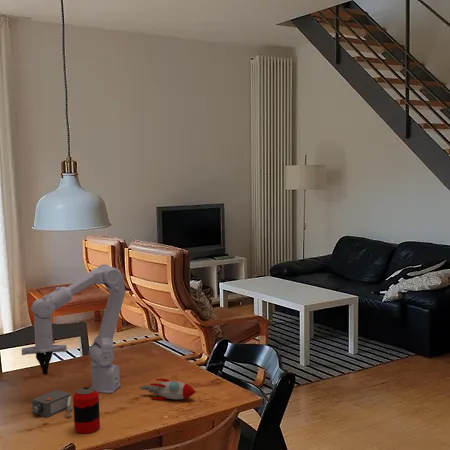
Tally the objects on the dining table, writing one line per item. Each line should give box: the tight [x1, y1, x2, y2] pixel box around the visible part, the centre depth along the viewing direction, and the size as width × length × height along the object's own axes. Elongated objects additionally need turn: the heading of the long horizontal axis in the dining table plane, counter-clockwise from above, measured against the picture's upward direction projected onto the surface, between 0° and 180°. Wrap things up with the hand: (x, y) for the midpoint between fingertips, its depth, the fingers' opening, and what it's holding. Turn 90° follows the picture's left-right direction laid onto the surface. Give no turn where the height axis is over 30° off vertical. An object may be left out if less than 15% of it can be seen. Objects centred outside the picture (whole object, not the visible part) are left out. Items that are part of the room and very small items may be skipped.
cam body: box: [31, 389, 72, 418], centre depth 203 cm, size 7×12×5 cm, turn 146°
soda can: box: [72, 386, 101, 435], centre depth 188 cm, size 8×8×12 cm
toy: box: [139, 378, 197, 401], centre depth 212 cm, size 21×7×7 cm
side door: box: [66, 395, 74, 418], centre depth 201 cm, size 2×8×4 cm, turn 11°
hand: (45, 373), depth 211 cm, fingers closed
